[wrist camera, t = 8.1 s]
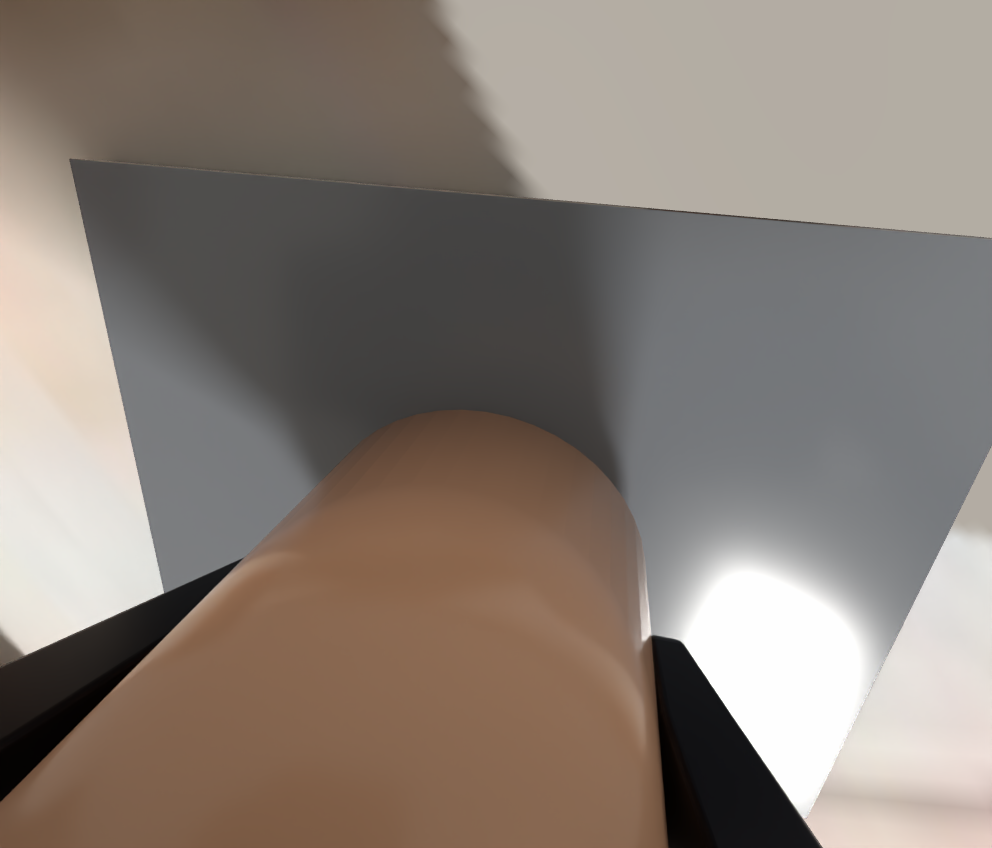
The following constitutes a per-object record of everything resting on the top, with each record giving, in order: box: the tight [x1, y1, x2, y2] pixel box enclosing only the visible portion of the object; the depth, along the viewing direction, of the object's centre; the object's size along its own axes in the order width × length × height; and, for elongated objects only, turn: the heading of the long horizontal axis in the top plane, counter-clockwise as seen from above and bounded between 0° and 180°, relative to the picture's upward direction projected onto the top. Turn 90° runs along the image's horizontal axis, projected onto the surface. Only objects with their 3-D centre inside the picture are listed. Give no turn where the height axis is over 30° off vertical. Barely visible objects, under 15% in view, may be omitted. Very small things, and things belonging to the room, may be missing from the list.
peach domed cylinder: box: [0, 410, 669, 848], centre depth 6 cm, size 5×5×6 cm
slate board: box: [70, 159, 992, 819], centre depth 10 cm, size 14×11×1 cm
